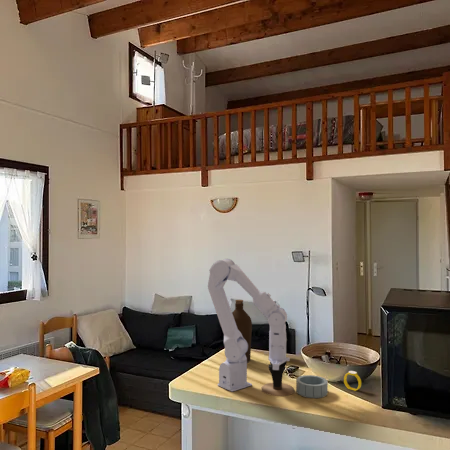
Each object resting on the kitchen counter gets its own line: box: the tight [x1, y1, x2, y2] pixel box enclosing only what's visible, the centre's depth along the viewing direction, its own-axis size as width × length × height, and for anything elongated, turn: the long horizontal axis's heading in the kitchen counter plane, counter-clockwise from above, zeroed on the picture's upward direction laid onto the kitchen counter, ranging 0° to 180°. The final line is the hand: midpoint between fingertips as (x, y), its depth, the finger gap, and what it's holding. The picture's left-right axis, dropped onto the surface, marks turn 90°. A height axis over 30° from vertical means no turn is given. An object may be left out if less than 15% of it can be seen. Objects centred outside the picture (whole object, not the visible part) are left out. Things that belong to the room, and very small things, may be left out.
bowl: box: [295, 374, 329, 399], centre depth 143 cm, size 10×10×4 cm
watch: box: [343, 370, 362, 392], centre depth 146 cm, size 6×3×6 cm, turn 43°
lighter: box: [321, 354, 331, 363], centre depth 156 cm, size 7×2×8 cm, turn 38°
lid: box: [260, 380, 295, 397], centre depth 145 cm, size 11×11×4 cm
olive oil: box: [232, 299, 253, 363], centre depth 178 cm, size 11×11×25 cm
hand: (277, 384), depth 145 cm, fingers open, 3 cm apart
